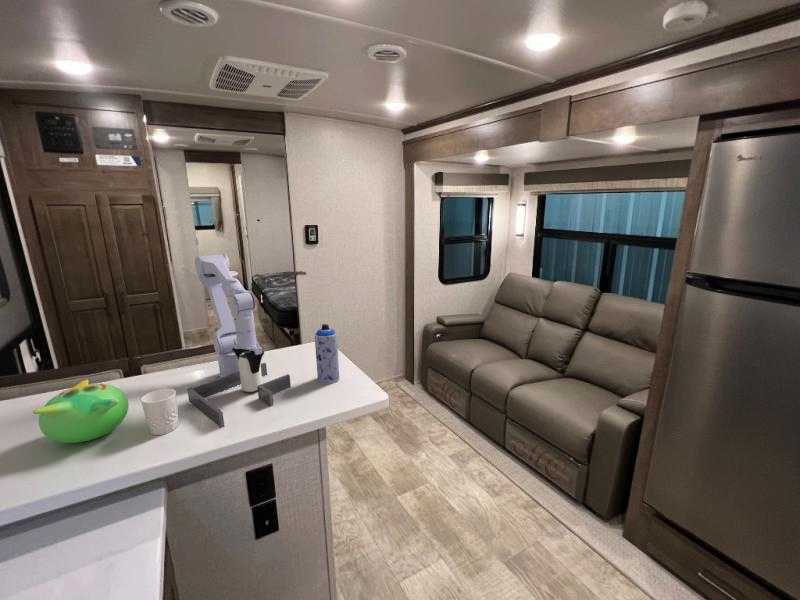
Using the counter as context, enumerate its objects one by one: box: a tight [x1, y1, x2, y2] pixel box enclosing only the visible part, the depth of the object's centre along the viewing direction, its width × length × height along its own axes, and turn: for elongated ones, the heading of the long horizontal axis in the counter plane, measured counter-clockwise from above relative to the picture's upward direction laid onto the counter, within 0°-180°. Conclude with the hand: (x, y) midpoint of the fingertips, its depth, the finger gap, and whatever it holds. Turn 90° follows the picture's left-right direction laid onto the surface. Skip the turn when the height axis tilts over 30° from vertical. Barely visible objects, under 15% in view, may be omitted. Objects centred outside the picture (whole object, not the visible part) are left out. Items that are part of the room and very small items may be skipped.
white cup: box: [140, 388, 180, 436], centre depth 101 cm, size 8×8×10 cm
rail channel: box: [186, 362, 292, 429], centre depth 118 cm, size 22×26×4 cm
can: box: [239, 350, 263, 393], centre depth 121 cm, size 6×6×12 cm
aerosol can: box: [314, 323, 341, 385], centre depth 128 cm, size 8×8×20 cm
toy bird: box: [32, 379, 129, 444], centre depth 97 cm, size 18×17×15 cm
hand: (250, 369), depth 121 cm, fingers closed on can, 6 cm apart
